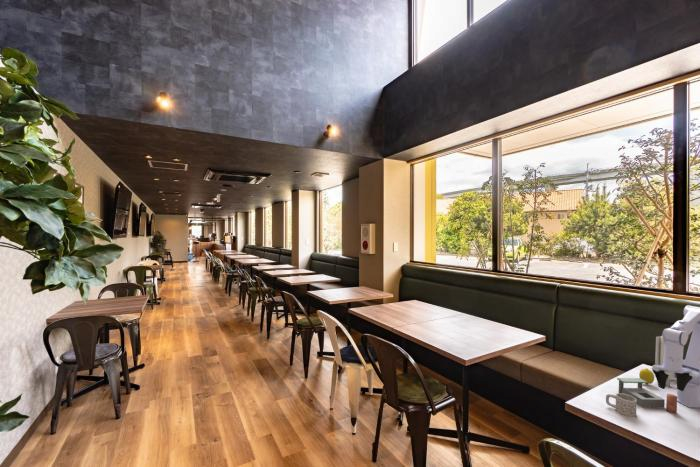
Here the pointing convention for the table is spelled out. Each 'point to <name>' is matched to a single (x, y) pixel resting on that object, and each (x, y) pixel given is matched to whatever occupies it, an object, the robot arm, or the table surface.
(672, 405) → the peg
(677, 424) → the table surface
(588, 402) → the table surface
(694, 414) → the table surface
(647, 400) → the socket block
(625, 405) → the mug
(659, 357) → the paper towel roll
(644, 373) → the lemon
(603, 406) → the table surface
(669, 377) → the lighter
